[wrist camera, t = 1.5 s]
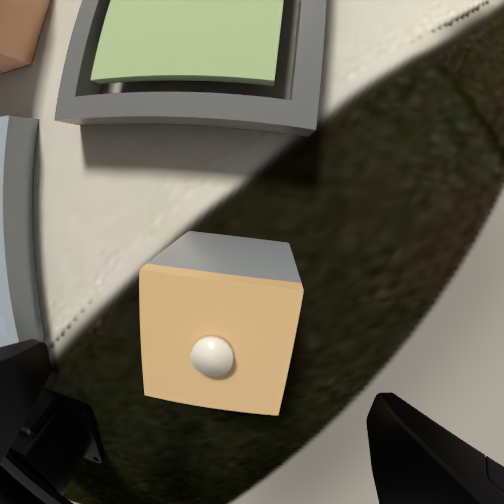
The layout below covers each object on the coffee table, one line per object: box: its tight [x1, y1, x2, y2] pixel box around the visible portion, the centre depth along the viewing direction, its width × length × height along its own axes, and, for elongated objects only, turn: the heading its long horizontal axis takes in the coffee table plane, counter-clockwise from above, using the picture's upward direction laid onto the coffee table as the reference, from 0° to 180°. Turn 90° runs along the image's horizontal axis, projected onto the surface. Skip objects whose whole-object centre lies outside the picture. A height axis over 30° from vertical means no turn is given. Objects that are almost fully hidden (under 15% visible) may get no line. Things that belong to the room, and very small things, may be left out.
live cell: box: [139, 231, 304, 415], centre depth 12 cm, size 4×4×6 cm
